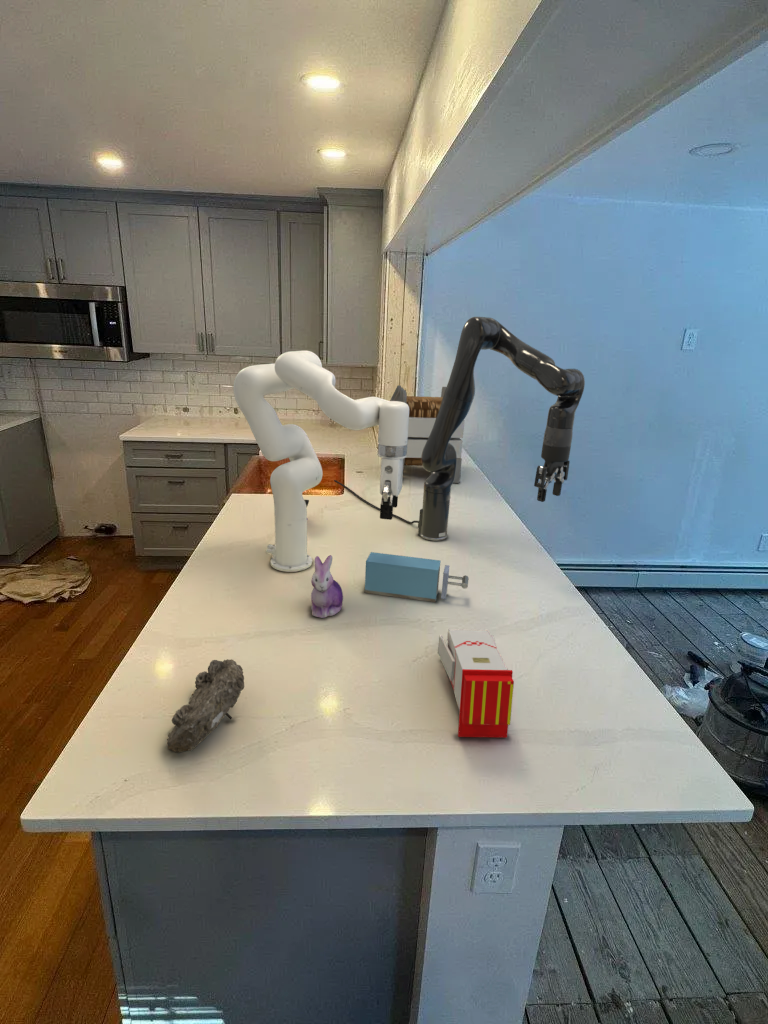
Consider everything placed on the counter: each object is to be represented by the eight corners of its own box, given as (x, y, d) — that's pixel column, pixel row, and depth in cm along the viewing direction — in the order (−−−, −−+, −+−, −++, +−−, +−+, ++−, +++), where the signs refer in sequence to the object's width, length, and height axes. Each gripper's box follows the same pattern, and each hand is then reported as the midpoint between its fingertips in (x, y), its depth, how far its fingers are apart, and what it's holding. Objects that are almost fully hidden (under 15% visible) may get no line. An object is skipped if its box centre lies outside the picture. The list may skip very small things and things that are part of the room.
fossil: (192, 660, 117) (244, 628, 112) (224, 691, 120) (276, 661, 115) (142, 746, 98) (202, 712, 93) (182, 779, 101) (242, 748, 96)
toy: (488, 613, 130) (523, 677, 101) (484, 667, 133) (517, 744, 104) (435, 612, 130) (455, 676, 101) (432, 666, 133) (451, 743, 103)
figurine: (316, 622, 141) (316, 568, 136) (302, 604, 150) (302, 552, 145) (351, 615, 146) (352, 562, 140) (335, 597, 154) (336, 546, 149)
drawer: (467, 593, 158) (469, 567, 155) (466, 602, 153) (468, 576, 151) (381, 582, 162) (383, 557, 160) (378, 590, 157) (379, 564, 155)
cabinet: (438, 591, 160) (440, 560, 157) (435, 602, 154) (438, 570, 151) (369, 582, 164) (370, 551, 160) (364, 592, 158) (365, 561, 154)
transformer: (382, 463, 289) (386, 382, 275) (445, 464, 293) (451, 384, 279) (390, 482, 257) (394, 392, 243) (460, 483, 261) (468, 394, 247)
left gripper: (402, 459, 137) (398, 525, 143) (410, 444, 153) (406, 503, 159) (372, 457, 138) (369, 522, 144) (383, 441, 154) (380, 501, 160)
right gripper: (557, 437, 164) (549, 490, 170) (531, 443, 155) (523, 499, 160) (581, 442, 159) (572, 496, 165) (556, 448, 150) (547, 506, 155)
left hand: (388, 512), depth 152 cm, fingers open, 9 cm apart
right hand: (548, 498), depth 162 cm, fingers open, 8 cm apart
